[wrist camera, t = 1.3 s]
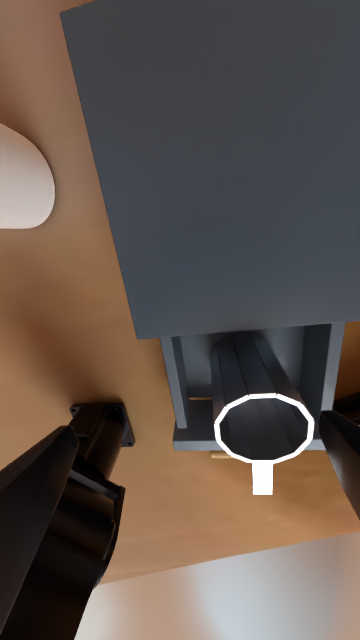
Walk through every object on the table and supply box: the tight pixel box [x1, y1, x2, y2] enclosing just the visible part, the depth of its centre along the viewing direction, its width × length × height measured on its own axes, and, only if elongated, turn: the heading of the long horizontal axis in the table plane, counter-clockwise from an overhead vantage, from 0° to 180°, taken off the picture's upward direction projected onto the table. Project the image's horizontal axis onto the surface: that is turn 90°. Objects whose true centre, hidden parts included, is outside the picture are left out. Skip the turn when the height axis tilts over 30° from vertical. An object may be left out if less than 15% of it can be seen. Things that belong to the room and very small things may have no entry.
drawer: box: [160, 322, 346, 458], centre depth 18 cm, size 17×13×5 cm
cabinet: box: [60, 0, 360, 339], centre depth 13 cm, size 14×14×6 cm
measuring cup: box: [210, 332, 315, 495], centre depth 16 cm, size 8×5×7 cm, turn 8°
